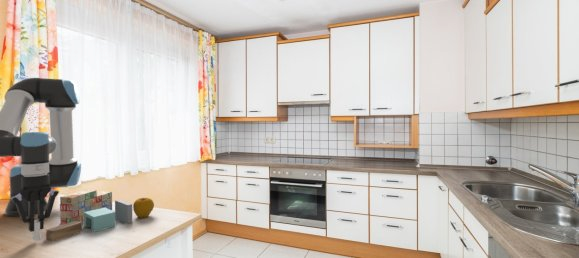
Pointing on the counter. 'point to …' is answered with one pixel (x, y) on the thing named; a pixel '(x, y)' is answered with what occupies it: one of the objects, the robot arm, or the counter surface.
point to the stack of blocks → (82, 204)
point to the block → (99, 219)
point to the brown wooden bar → (63, 230)
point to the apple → (143, 207)
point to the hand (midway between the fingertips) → (36, 239)
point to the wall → (123, 211)
